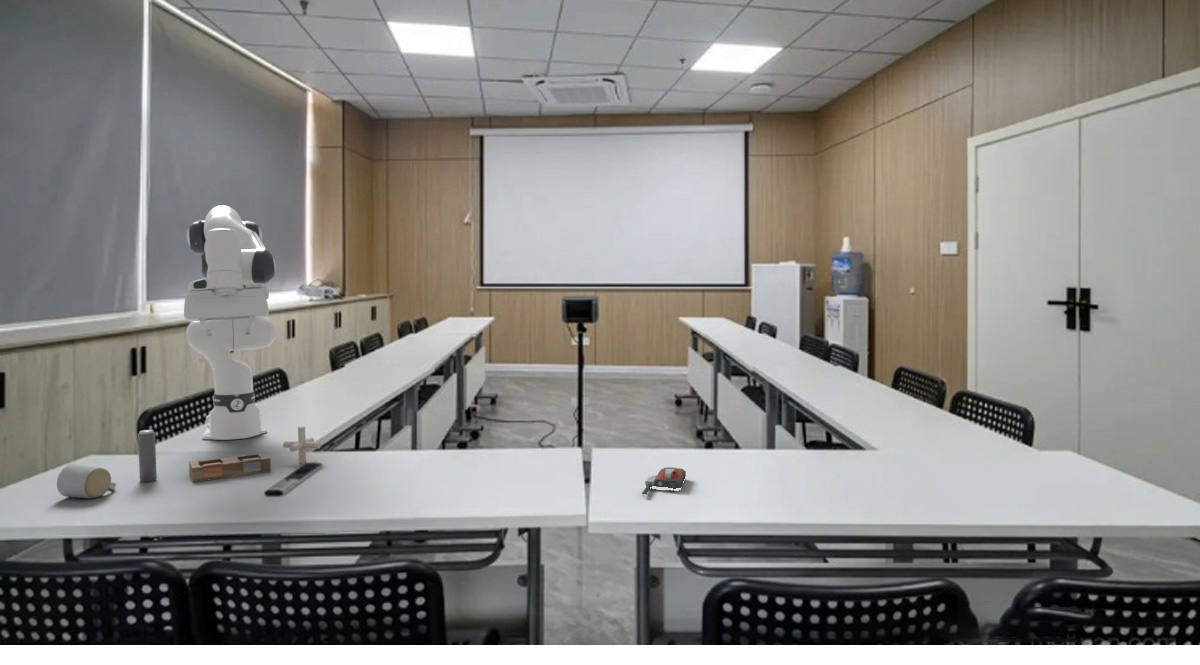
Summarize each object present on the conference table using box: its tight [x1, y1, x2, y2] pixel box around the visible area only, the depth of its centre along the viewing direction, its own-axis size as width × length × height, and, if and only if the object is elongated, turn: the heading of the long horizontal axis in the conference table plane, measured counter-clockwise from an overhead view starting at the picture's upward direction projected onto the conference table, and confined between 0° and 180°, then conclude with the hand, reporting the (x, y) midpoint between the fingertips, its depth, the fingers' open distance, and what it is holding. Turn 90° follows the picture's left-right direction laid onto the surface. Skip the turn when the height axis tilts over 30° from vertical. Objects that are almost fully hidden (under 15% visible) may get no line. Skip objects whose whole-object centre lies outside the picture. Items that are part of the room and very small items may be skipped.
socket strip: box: [188, 451, 272, 482], centre depth 184 cm, size 8×18×4 cm, turn 125°
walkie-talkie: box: [641, 466, 687, 495], centre depth 172 cm, size 9×4×20 cm
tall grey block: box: [137, 429, 158, 483], centre depth 177 cm, size 4×4×13 cm
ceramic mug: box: [56, 462, 117, 499], centre depth 165 cm, size 11×8×8 cm
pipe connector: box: [282, 426, 322, 464], centre depth 195 cm, size 10×10×10 cm
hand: (228, 335), depth 189 cm, fingers open, 8 cm apart
